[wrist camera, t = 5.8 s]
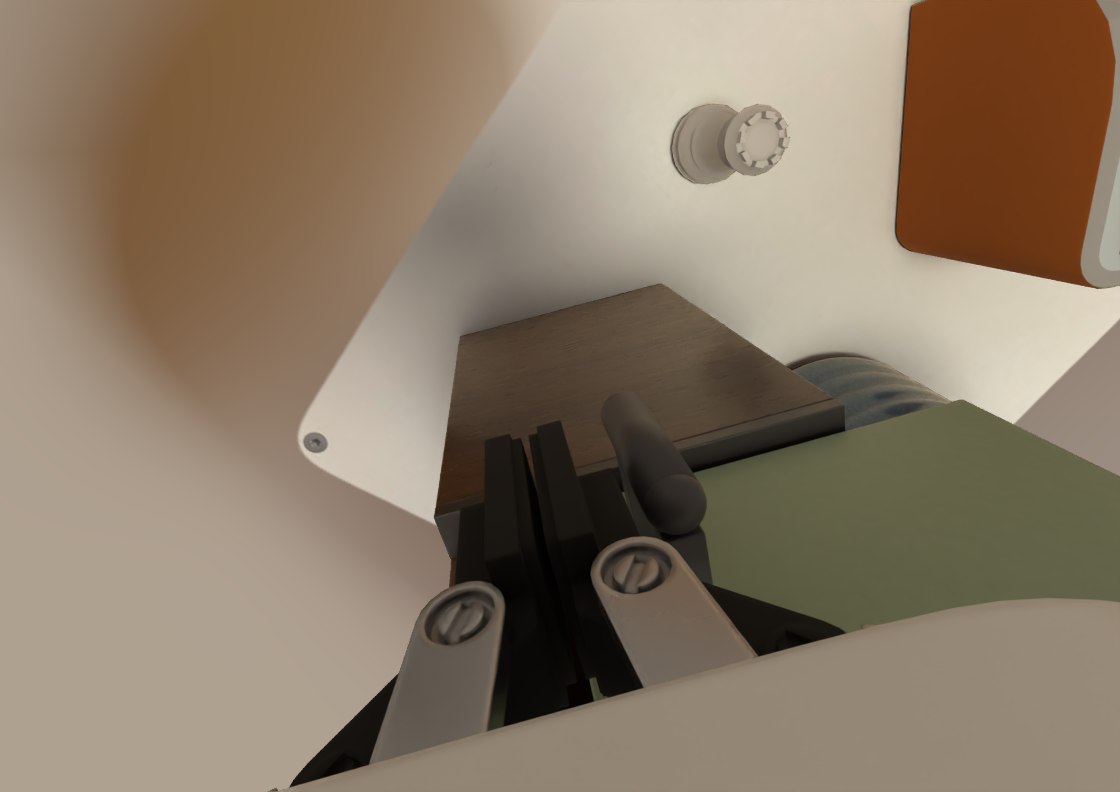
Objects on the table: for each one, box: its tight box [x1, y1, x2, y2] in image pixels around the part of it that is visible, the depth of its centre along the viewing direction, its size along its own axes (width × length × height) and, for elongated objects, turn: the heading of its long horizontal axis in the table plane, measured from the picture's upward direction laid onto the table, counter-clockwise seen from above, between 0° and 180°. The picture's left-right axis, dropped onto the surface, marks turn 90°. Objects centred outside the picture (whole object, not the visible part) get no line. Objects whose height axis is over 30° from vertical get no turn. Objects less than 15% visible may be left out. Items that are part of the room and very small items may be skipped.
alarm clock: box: [896, 0, 1120, 289], centre depth 29 cm, size 15×8×14 cm, turn 10°
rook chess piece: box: [672, 104, 790, 184], centre depth 30 cm, size 4×4×8 cm
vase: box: [792, 357, 952, 431], centre depth 29 cm, size 16×16×32 cm
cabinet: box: [434, 284, 846, 712], centre depth 25 cm, size 11×14×31 cm
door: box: [590, 391, 1120, 702], centre depth 13 cm, size 5×14×10 cm, turn 103°
